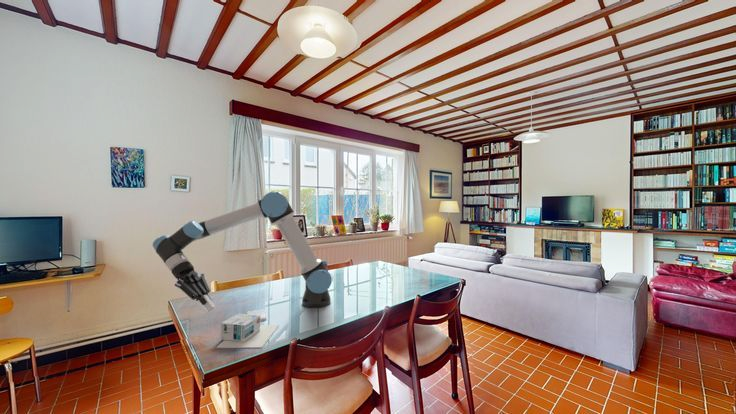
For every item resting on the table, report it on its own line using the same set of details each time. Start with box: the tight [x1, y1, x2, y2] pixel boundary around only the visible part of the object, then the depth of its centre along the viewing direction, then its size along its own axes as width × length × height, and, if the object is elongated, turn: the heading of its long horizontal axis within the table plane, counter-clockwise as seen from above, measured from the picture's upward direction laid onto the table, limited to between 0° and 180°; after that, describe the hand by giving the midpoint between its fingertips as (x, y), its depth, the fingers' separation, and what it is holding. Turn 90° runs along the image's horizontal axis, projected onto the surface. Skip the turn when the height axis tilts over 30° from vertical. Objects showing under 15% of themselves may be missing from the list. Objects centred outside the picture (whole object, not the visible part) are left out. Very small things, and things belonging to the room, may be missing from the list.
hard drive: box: [246, 308, 267, 322], centre depth 132 cm, size 2×8×12 cm
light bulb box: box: [220, 312, 261, 342], centre depth 112 cm, size 11×7×11 cm
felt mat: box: [216, 324, 280, 349], centre depth 112 cm, size 17×19×1 cm
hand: (212, 308), depth 115 cm, fingers closed
